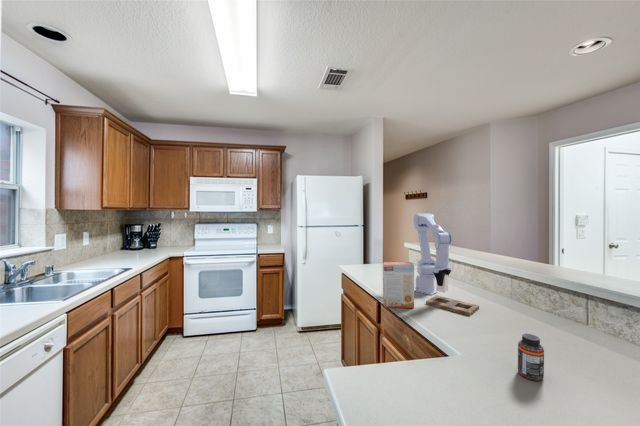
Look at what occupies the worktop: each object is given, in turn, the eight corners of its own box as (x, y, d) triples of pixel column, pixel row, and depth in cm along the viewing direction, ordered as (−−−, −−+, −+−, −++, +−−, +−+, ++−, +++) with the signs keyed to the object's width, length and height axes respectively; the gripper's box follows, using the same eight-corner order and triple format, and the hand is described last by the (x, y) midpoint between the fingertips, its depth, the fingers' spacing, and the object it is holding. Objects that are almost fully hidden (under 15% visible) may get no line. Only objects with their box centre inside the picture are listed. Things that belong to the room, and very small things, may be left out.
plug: (436, 290, 135) (436, 274, 135) (439, 289, 138) (440, 273, 138) (444, 292, 132) (444, 276, 132) (448, 290, 135) (448, 274, 135)
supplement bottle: (518, 366, 83) (519, 329, 83) (543, 374, 79) (544, 335, 79) (516, 376, 79) (517, 337, 78) (543, 385, 75) (544, 343, 74)
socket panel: (425, 304, 135) (425, 301, 135) (436, 298, 143) (436, 295, 143) (469, 316, 121) (469, 312, 120) (479, 308, 129) (479, 305, 129)
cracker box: (411, 304, 135) (411, 261, 135) (414, 308, 129) (414, 264, 129) (382, 303, 137) (382, 261, 136) (384, 307, 131) (384, 264, 130)
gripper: (444, 260, 127) (443, 289, 127) (456, 256, 137) (456, 283, 137) (429, 258, 132) (429, 286, 133) (442, 254, 142) (442, 280, 142)
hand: (442, 284), depth 135 cm, fingers closed on plug, 4 cm apart
